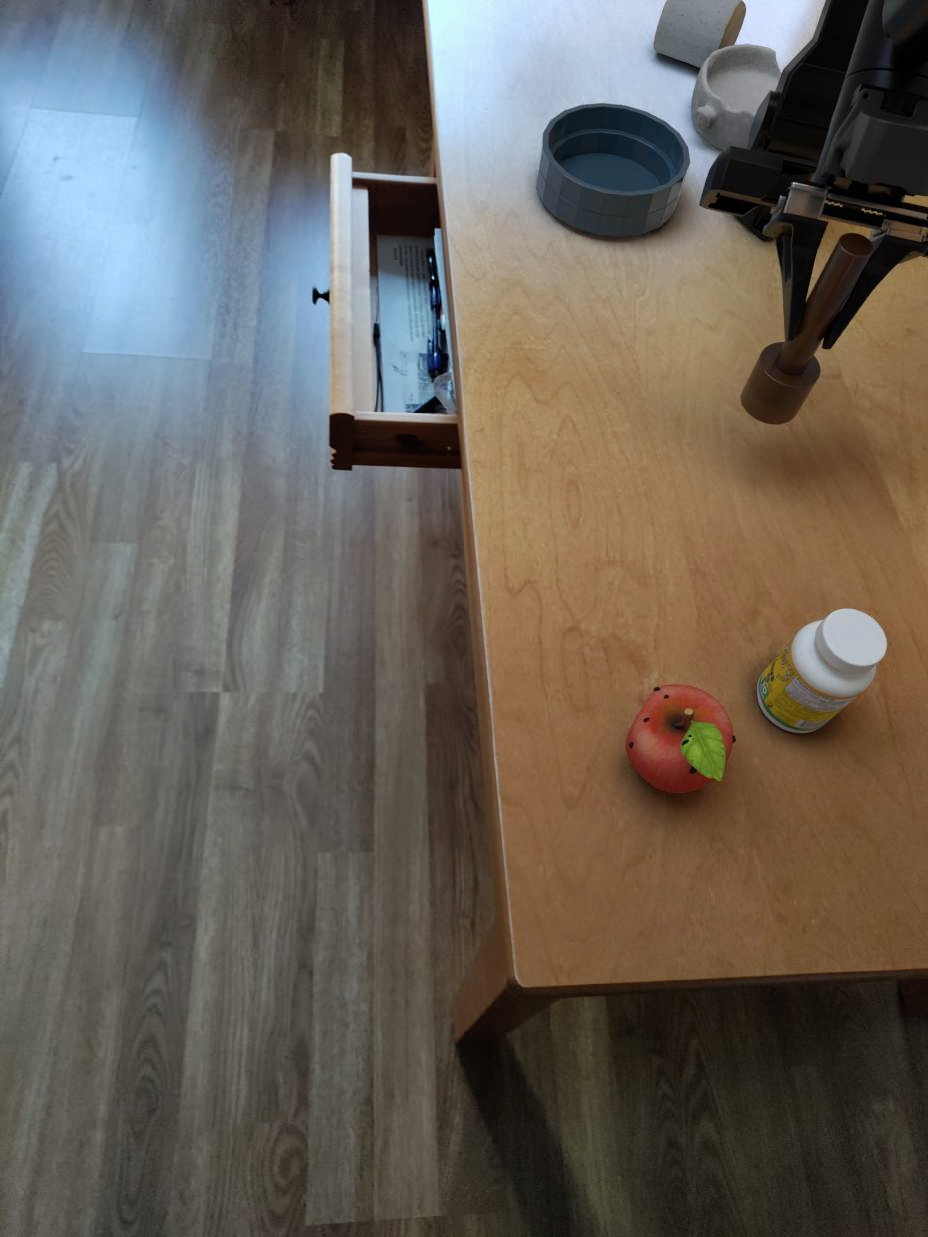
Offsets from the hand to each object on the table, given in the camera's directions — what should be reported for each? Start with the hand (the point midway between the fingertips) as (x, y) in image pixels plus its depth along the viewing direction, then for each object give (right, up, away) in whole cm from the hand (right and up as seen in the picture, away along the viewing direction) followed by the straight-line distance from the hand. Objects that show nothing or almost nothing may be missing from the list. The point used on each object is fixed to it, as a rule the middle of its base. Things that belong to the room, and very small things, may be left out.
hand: (807, 344), depth 58 cm
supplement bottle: (0, -24, +3) cm, 24 cm away
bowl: (-9, +24, +28) cm, 38 cm away
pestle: (0, -2, +7) cm, 7 cm away
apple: (-10, -28, 0) cm, 30 cm away
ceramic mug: (+3, +47, +42) cm, 64 cm away
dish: (+8, +35, +36) cm, 51 cm away
